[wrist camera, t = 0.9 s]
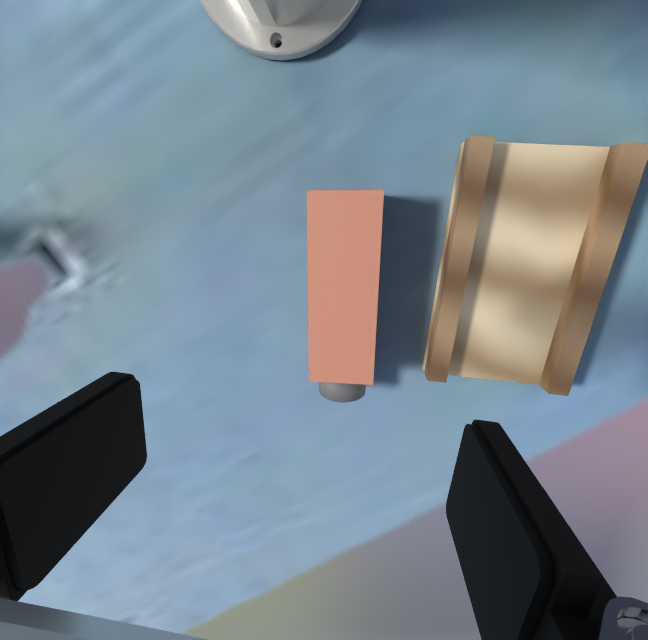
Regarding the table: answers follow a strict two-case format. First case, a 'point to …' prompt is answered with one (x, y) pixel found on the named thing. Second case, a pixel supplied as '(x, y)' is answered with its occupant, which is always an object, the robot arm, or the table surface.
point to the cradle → (527, 258)
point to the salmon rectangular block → (343, 289)
